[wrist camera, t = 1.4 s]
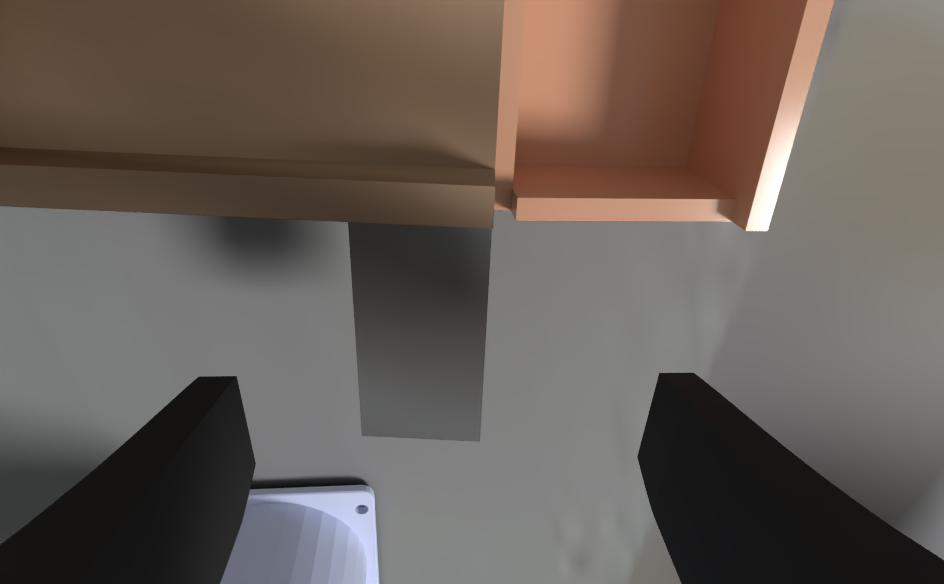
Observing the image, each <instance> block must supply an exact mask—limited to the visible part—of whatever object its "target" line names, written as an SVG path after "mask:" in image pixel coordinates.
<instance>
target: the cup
mask: <svg viewBox="0 0 944 584" xmlns="http://www.w3.org/2000/svg"><path fill="white" fill-rule="evenodd" d="M833 3H834V0H504V17H503V35H502V53H501V71H500V89H499V107H498V125H497V142H496V160H495V202H494V210H511V211H512V213H513V215H514V218H515V220H516V221H732V222H734V223H735V224H736V225H738V226H739V227H741V228H742V229H744V230H745V231H768V228H769V225H770V221H771V218H772V214H773V211H774V207H775V204H776V201H777V197H778V194H779V190H780V187H781V183H782V180H783V176H784V173H785V169H786V166H787V162H788V159H789V155H790V152H791V149H792V145H793V142H794V138H795V135H796V131H797V128H798V124H799V121H800V117H801V114H802V110H803V107H804V104H805V100H806V97H807V93H808V90H809V86H810V83H811V79H812V76H813V72H814V69H815V65H816V62H817V58H818V55H819V52H820V48H821V45H822V41H823V38H824V34H825V31H826V27H827V24H828V20H829V17H830V13H831V10H832V7H833Z"/></svg>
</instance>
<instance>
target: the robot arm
mask: <svg viewBox="0 0 944 584" xmlns="http://www.w3.org/2000/svg"><path fill="white" fill-rule="evenodd" d="M638 461H639V465H640V469H641V473H642V476H643V480H644V484H645V488H646V491H647V495H648V498H649V502H650V505H651V509H652V512H653V515H654V517H655V520H656V522H657V525H658V527H659V530H660V532H661V535H662V537H663V539H664V542H665V544H666V547H667V549H668V552H669V554H670V556H671V559H672V561H673V564H674V566H675V568H676V571H677V574H678V576H679V578H680V581H681V583H682V584H944V560H942V559H941V558H939V557H938V556H936V555H935V554H933V553H932V552H930V551H929V550H927V549H925V548H924V547H922V546H921V545H919V544H918V543H916V542H915V541H913V540H912V539H910V538H909V537H907V536H905V535H904V534H902V533H901V532H899V531H898V530H896V529H895V528H893V527H892V526H890V525H889V524H888V523H886V522H885V521H883V520H882V519H880V518H879V517H877V516H876V515H874V514H873V513H871V512H870V511H869V510H867V509H866V508H865V507H863V506H862V505H861V504H859V503H858V502H856V501H855V500H854V499H852V498H851V497H849V496H848V495H847V494H845V493H844V492H843V491H841V490H840V489H839V488H837V487H836V486H835V485H833V484H831V483H830V482H829V481H828V480H827V479H825V478H824V477H822V476H821V475H820V474H819V473H817V472H816V471H815V470H813V469H812V468H811V467H810V466H808V465H807V464H805V463H804V462H803V461H802V460H801V459H799V458H798V457H797V456H795V455H794V454H793V453H792V452H790V451H789V450H788V449H787V448H785V447H784V446H783V445H782V444H780V443H779V442H778V441H777V440H776V439H774V438H773V437H772V436H770V435H769V434H768V433H767V432H766V431H764V430H763V429H762V428H761V427H760V426H758V425H757V424H756V423H755V422H754V421H752V420H751V419H750V418H749V417H748V416H746V415H745V414H744V413H743V412H741V411H740V410H739V409H738V408H737V407H735V406H734V405H733V404H732V403H731V402H729V401H728V400H727V399H726V398H724V397H723V396H722V395H721V394H720V393H718V392H717V391H716V390H715V389H713V388H712V387H711V386H710V385H709V384H707V383H706V382H705V381H704V380H702V379H701V378H700V377H698V376H697V375H696V374H694V373H659V377H658V380H657V384H656V388H655V392H654V396H653V399H652V403H651V407H650V411H649V415H648V419H647V422H646V426H645V430H644V434H643V438H642V441H641V445H640V449H639V453H638ZM255 464H256V463H255V459H254V454H253V450H252V445H251V440H250V436H249V431H248V427H247V422H246V417H245V413H244V408H243V404H242V399H241V394H240V390H239V385H238V381H237V376H222V377H198V378H197V379H196V380H194V381H193V382H192V383H191V384H190V385H189V386H188V387H186V388H185V389H184V390H183V391H182V392H181V393H180V394H179V395H178V396H176V397H175V398H174V399H173V400H172V401H171V402H170V403H169V404H168V405H167V406H165V407H164V408H163V409H162V410H161V411H160V412H159V413H158V414H157V415H155V416H154V417H153V418H152V419H151V420H150V421H149V422H148V423H147V424H146V425H144V426H143V427H142V428H141V429H140V430H139V431H138V432H137V433H136V434H134V435H133V436H132V437H131V438H130V439H129V440H128V441H126V442H125V443H124V444H123V445H122V446H121V447H120V448H119V449H117V450H116V451H115V452H114V453H113V454H112V455H111V456H109V457H108V458H107V459H106V460H105V461H104V462H103V463H101V464H100V465H99V466H98V467H97V468H96V469H95V470H93V471H92V472H91V473H90V474H89V475H87V476H86V477H85V478H84V479H82V480H81V481H80V482H79V483H77V484H76V485H75V486H74V487H73V488H71V489H70V490H69V491H68V492H66V493H65V494H64V495H63V496H61V497H60V498H59V499H58V500H57V501H55V502H54V503H53V504H52V505H50V506H49V507H48V508H47V509H46V510H44V511H43V512H42V513H41V514H39V515H38V516H37V517H36V518H34V519H33V520H32V521H31V522H30V523H28V524H27V525H26V526H24V527H23V528H22V529H21V530H19V531H18V532H17V533H15V534H14V535H13V536H11V537H10V538H9V539H7V540H6V541H5V542H3V543H2V544H1V545H0V584H379V570H378V552H377V534H376V515H375V497H374V491H373V489H372V488H371V487H369V486H366V485H346V486H321V487H297V488H273V489H250V487H251V483H252V478H253V474H254V469H255ZM359 505H365V506H364V507H361V506H359Z"/></svg>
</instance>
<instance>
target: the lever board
mask: <svg viewBox="0 0 944 584" xmlns="http://www.w3.org/2000/svg"><path fill="white" fill-rule="evenodd" d="M503 17H504V0H0V206H11V207H33V208H55V209H77V210H99V211H121V212H143V213H164V214H186V215H208V216H230V217H252V218H274V219H296V220H318V221H340V222H348V227H349V242H350V258H351V273H352V289H353V304H354V320H355V335H356V351H357V366H358V382H359V397H360V413H361V428H362V436H379V437H399V438H419V439H439V440H459V441H480V429H481V411H482V393H483V375H484V357H485V340H486V322H487V304H488V286H489V268H490V250H491V232H492V228H493V219H494V202H495V160H496V142H497V125H498V107H499V89H500V71H501V53H502V35H503Z"/></svg>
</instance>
